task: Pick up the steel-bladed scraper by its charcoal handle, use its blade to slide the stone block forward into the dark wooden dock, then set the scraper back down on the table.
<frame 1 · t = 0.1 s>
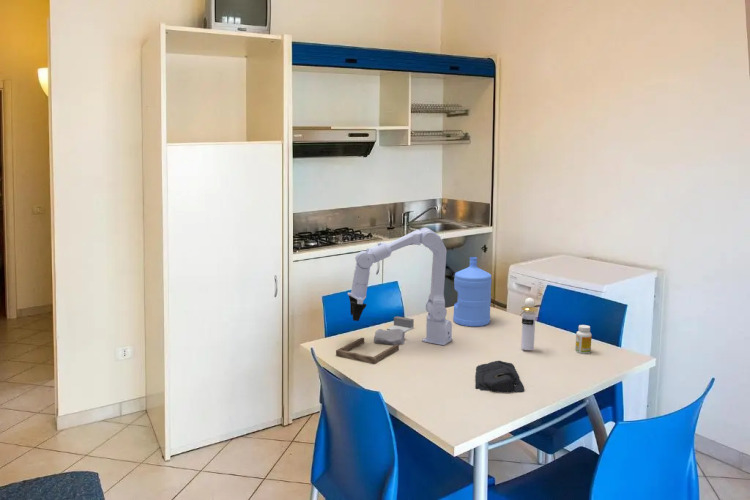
hand: (354, 317, 240), 11 cm above the table, tool pointing down, fingers open, 7 cm apart
stone block: (389, 342, 246), on the table
crumpled black cloth: (498, 381, 208), on the table
water jug: (471, 322, 272), on the table
dock: (368, 352, 233), on the table
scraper: (403, 328, 264), on the table
supplement bottle: (582, 352, 234), on the table
perfume bottle: (527, 350, 236), on the table
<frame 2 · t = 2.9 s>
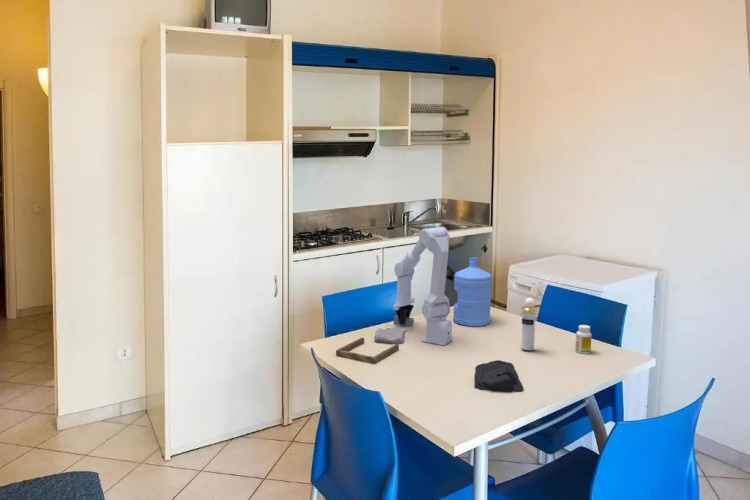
hand: (403, 322, 263), 2 cm above the table, tool pointing down, fingers closed on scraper, 2 cm apart
stone block: (389, 341, 247), on the table
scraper: (403, 327, 264), on the table, touching gripper
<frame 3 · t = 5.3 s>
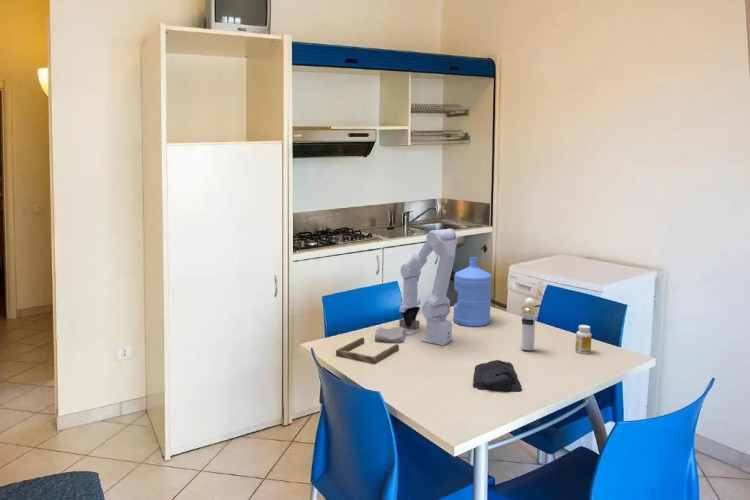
hand: (410, 325, 260), 2 cm above the table, tool pointing down, fingers closed on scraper, 2 cm apart
stone block: (389, 340, 248), on the table
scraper: (409, 329, 260), on the table, touching gripper
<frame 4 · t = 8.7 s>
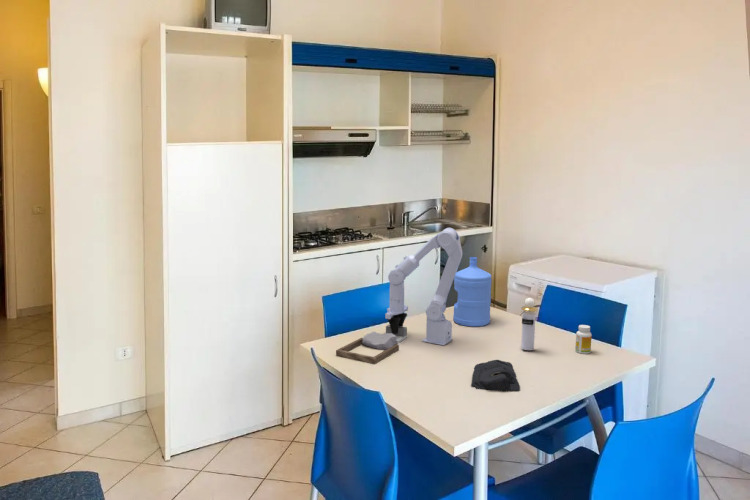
hand: (396, 332, 250), 2 cm above the table, tool pointing down, fingers closed on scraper, 3 cm apart
stone block: (378, 345, 241), on the table, touching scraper
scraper: (396, 336, 251), on the table, touching gripper, stone block
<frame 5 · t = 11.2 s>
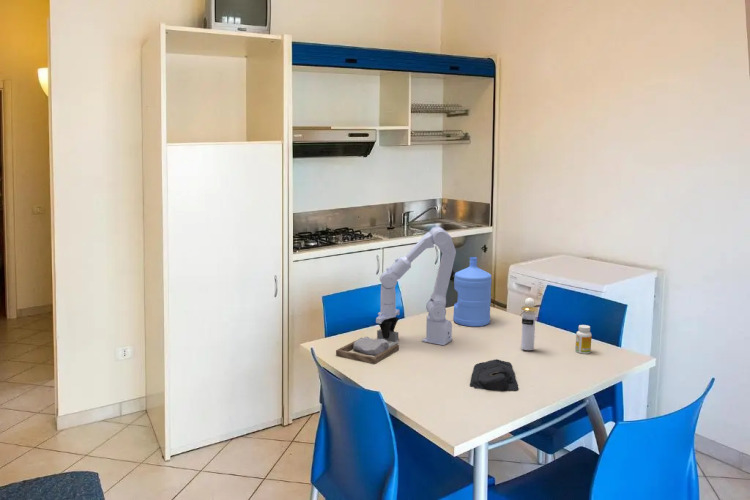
hand: (387, 336, 245), 2 cm above the table, tool pointing down, fingers closed on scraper, 2 cm apart
stone block: (369, 351, 236), on the table
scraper: (387, 341, 245), on the table, touching gripper
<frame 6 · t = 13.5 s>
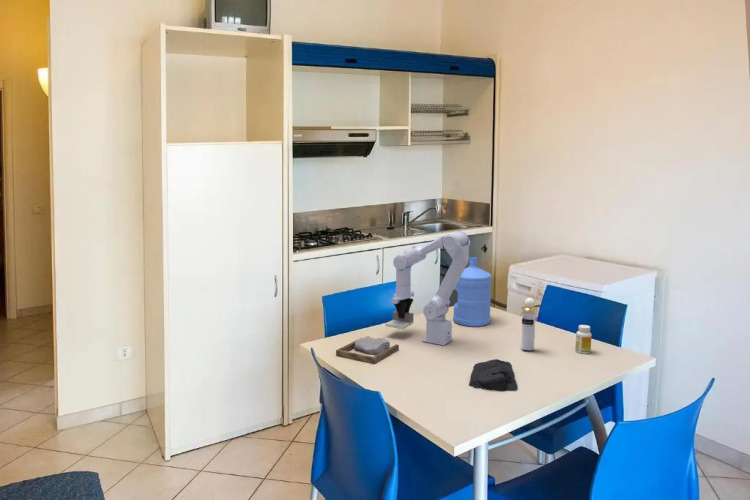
hand: (403, 317, 254), 7 cm above the table, tool pointing down, fingers closed on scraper, 2 cm apart
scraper: (403, 322, 254), point 5 cm above the table, touching gripper
when the fingers open (3 cm above the table, at t = 15.4 s): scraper drops 1 cm, on the table.
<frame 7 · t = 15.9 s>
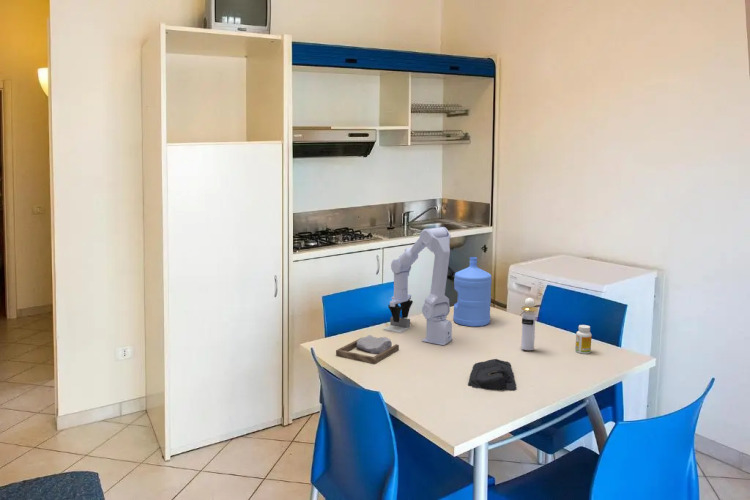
hand: (400, 319, 263), 3 cm above the table, tool pointing down, fingers open, 7 cm apart
stone block: (372, 350, 237), on the table
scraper: (400, 328, 264), on the table
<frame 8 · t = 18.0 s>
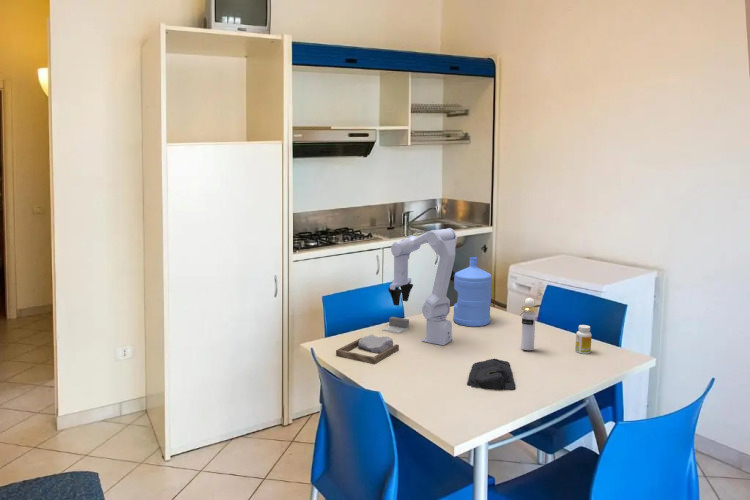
hand: (400, 303, 262), 10 cm above the table, tool pointing down, fingers open, 7 cm apart
stone block: (374, 349, 238), on the table
at the end: stone block inside the target area (3.4 cm from its centre), on the table; the gripper is holding nothing; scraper on the table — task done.
